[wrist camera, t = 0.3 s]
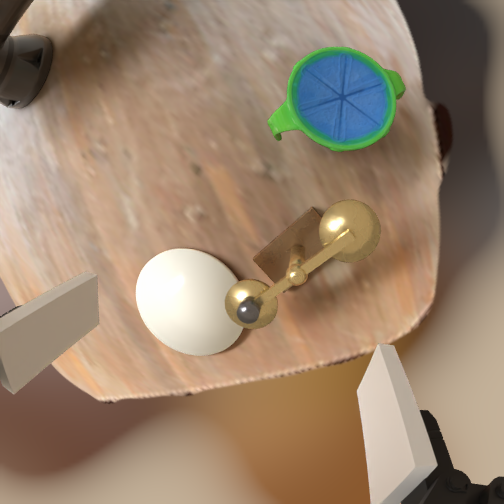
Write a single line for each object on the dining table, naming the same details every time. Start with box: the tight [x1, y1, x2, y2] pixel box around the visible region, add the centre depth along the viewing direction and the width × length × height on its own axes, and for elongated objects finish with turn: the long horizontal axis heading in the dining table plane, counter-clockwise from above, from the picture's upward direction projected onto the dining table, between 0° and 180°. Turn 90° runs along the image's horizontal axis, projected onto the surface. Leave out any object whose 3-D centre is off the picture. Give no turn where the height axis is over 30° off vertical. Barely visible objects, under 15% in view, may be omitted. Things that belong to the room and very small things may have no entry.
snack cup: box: [267, 47, 406, 152], centre depth 29 cm, size 16×10×10 cm
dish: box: [136, 248, 243, 356], centre depth 43 cm, size 17×17×1 cm
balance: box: [225, 200, 381, 329], centre depth 34 cm, size 6×20×11 cm, turn 134°
